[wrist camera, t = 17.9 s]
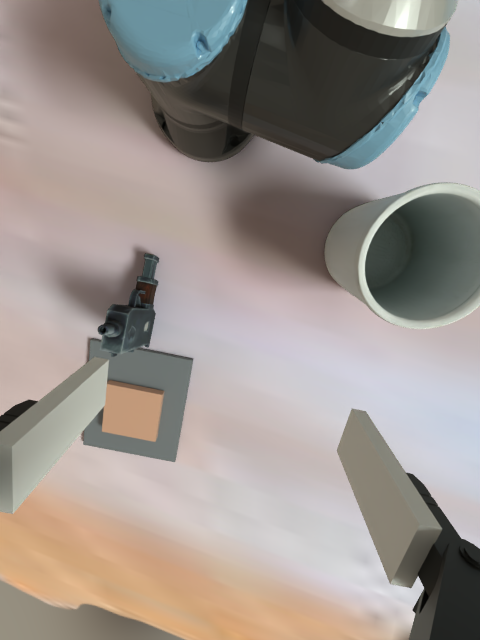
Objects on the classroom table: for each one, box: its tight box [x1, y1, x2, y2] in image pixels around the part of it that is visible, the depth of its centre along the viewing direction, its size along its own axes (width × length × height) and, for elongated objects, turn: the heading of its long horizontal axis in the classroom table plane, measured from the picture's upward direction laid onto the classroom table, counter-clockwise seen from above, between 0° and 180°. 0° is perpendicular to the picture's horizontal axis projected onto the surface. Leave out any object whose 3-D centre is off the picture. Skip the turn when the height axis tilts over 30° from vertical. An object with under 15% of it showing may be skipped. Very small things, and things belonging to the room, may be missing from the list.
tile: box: [102, 380, 164, 442], centre depth 54 cm, size 2×10×10 cm
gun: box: [98, 253, 159, 357], centre depth 42 cm, size 3×17×15 cm
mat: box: [83, 339, 193, 462], centre depth 55 cm, size 22×18×1 cm
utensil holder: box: [324, 183, 480, 329], centre depth 39 cm, size 15×15×18 cm
